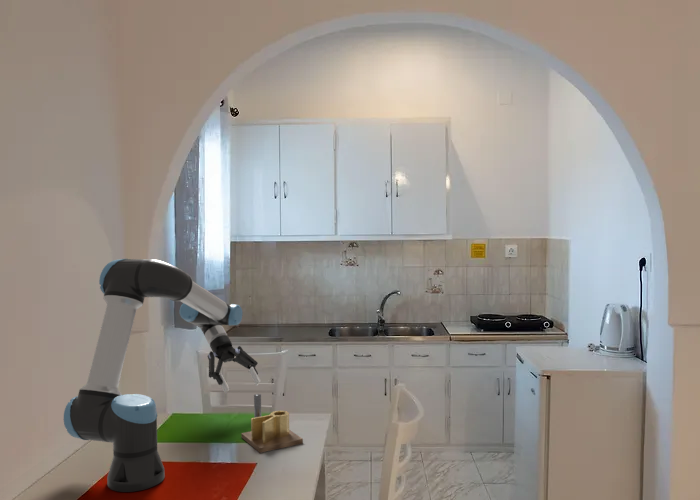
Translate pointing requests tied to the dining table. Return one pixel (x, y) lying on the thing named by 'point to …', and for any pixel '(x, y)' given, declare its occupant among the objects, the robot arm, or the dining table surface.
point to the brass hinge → (270, 426)
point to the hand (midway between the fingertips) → (243, 387)
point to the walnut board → (272, 442)
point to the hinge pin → (257, 405)
